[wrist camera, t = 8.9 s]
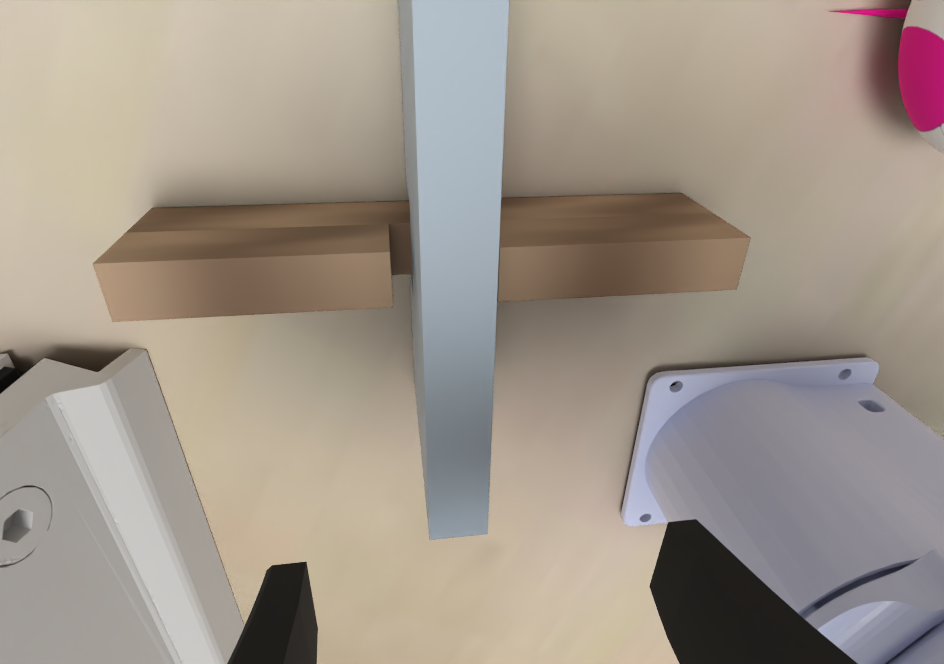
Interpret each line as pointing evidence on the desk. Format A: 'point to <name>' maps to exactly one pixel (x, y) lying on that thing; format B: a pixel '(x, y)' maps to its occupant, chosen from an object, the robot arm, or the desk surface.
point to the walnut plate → (407, 254)
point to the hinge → (103, 524)
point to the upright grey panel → (454, 242)
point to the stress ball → (921, 65)
